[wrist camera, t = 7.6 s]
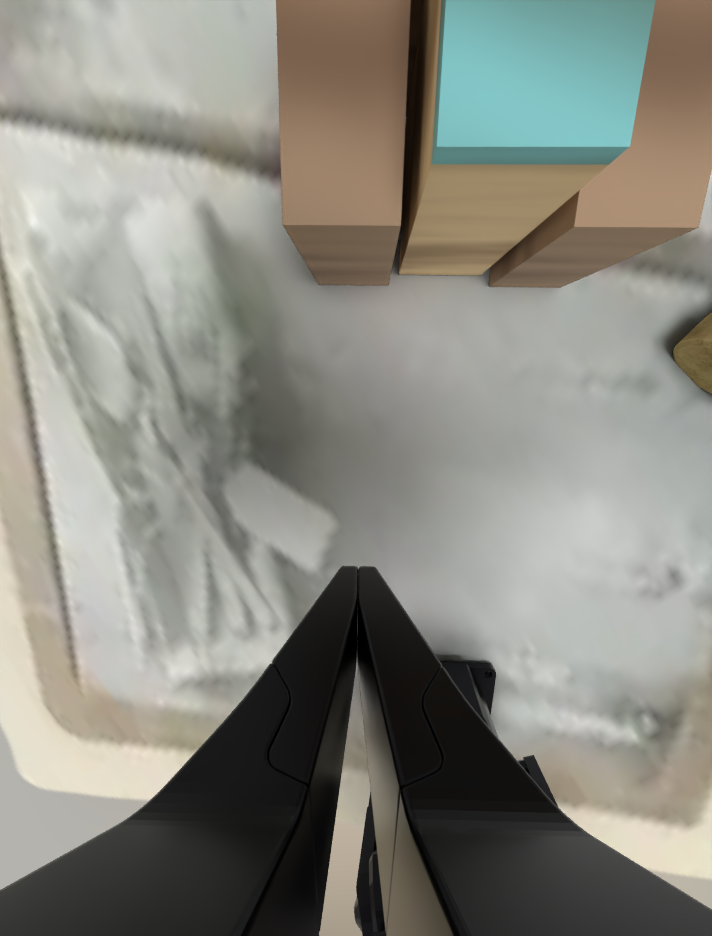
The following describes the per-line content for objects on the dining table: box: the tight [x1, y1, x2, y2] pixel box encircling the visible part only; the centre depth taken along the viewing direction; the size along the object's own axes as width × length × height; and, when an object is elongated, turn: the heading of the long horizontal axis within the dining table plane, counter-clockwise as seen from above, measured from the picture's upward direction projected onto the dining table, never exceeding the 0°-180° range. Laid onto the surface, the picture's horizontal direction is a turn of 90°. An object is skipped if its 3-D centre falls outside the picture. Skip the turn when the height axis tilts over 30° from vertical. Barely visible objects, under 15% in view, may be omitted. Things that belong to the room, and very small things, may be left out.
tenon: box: [399, 0, 655, 275], centre depth 12 cm, size 6×4×11 cm, turn 179°
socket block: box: [276, 0, 712, 287], centre depth 14 cm, size 8×12×8 cm, turn 89°
